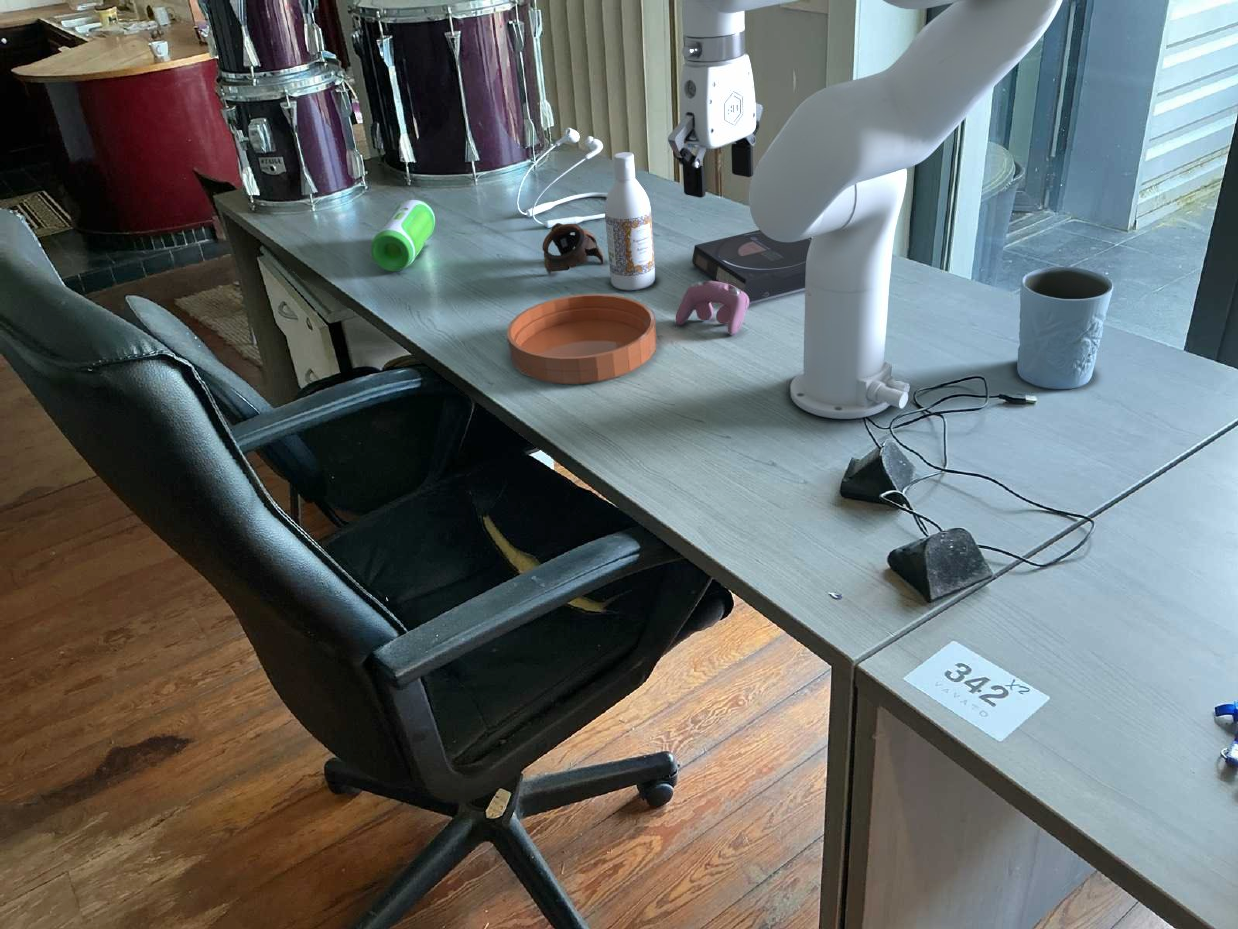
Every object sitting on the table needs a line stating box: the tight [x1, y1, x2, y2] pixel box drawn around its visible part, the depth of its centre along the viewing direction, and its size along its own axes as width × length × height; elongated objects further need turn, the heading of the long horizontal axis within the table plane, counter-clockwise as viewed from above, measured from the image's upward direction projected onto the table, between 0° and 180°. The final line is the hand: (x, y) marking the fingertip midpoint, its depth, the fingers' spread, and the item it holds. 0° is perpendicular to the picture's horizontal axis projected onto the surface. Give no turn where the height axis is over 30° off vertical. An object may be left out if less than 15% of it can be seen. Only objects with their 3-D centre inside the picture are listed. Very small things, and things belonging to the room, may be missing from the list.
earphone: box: [516, 127, 608, 229], centre depth 190 cm, size 14×17×18 cm
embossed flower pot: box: [1016, 266, 1114, 390], centre depth 125 cm, size 10×10×12 cm
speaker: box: [371, 199, 436, 273], centre depth 178 cm, size 18×7×8 cm, turn 175°
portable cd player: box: [691, 229, 812, 305], centre depth 160 cm, size 16×17×4 cm
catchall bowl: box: [506, 293, 658, 385], centre depth 143 cm, size 20×20×4 cm
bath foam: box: [604, 151, 656, 291], centre depth 157 cm, size 7×7×20 cm
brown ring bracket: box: [541, 223, 605, 276], centre depth 169 cm, size 12×10×8 cm
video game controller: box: [675, 280, 749, 336], centre depth 146 cm, size 10×5×7 cm, turn 58°
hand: (719, 185), depth 137 cm, fingers open, 9 cm apart
